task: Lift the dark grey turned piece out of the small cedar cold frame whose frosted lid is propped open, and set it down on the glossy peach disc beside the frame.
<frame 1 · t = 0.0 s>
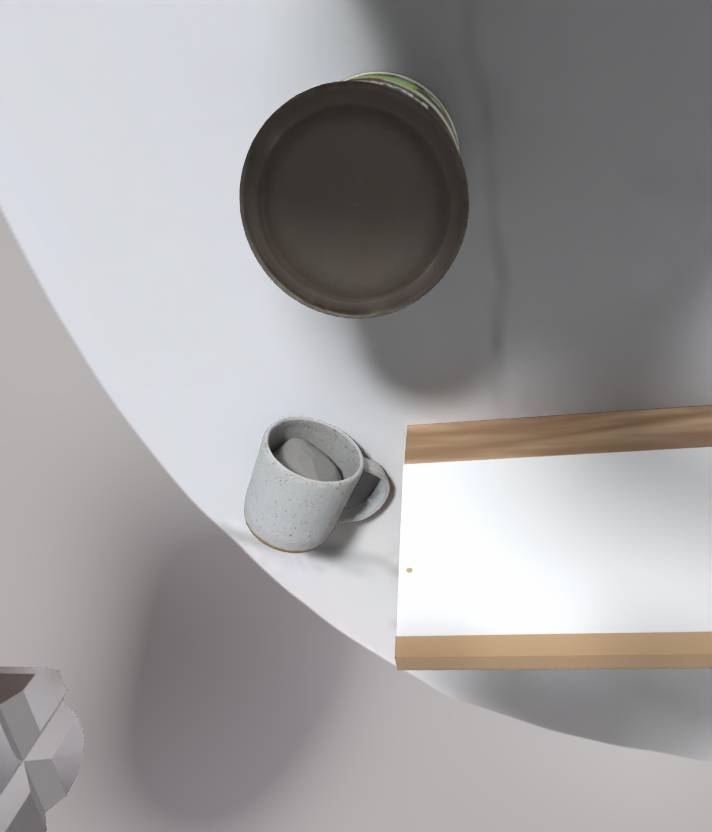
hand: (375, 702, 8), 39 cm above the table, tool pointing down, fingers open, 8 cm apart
propped lid: (588, 610, 41), point 13 cm above the table
cold frame: (556, 514, 53), on the table
coffee can: (377, 162, 42), on the table
ceramic mug: (325, 461, 53), on the table
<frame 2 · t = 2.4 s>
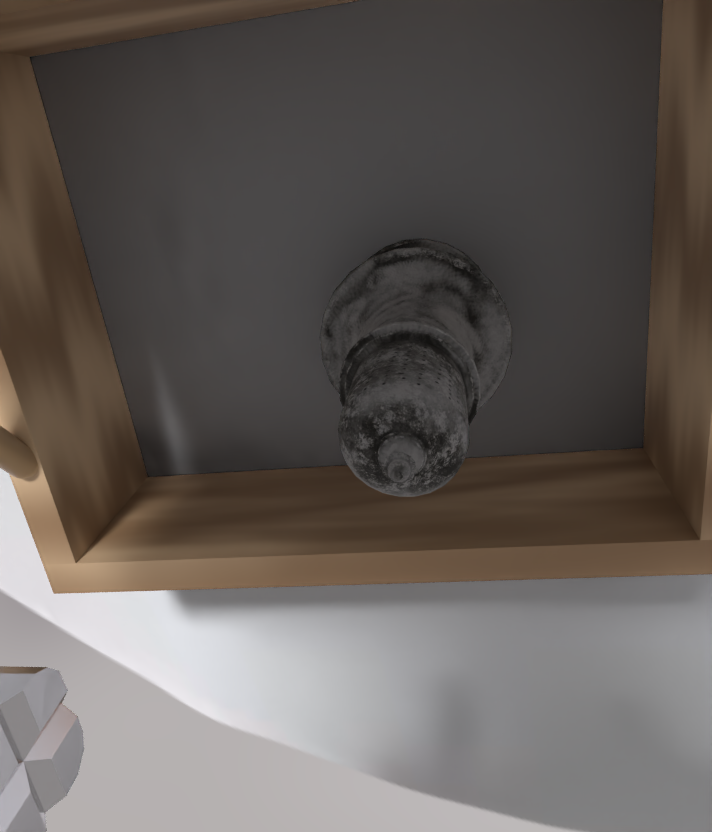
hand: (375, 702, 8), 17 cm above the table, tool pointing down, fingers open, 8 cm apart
propped lid: (240, 272, 11), point 13 cm above the table
dark grey turned piece: (418, 313, 24), resting in cold frame
cold frame: (355, 264, 23), on the table
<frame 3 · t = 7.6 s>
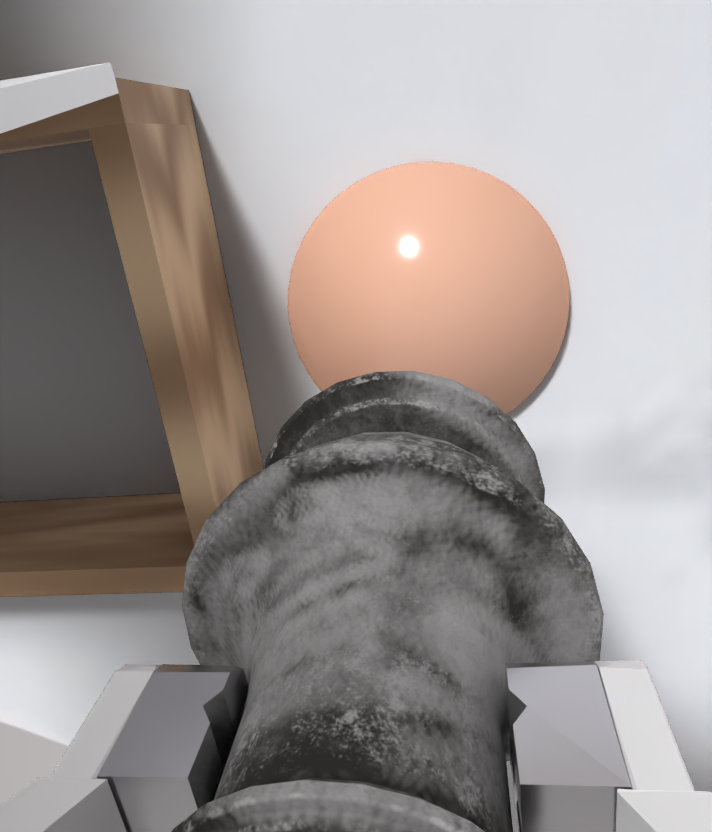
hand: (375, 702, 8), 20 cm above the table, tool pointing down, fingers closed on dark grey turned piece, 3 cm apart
glossy peach disc: (425, 307, 27), on the table
dark grey turned piece: (400, 497, 13), point 15 cm above the table, touching gripper
cold frame: (0, 347, 30), on the table
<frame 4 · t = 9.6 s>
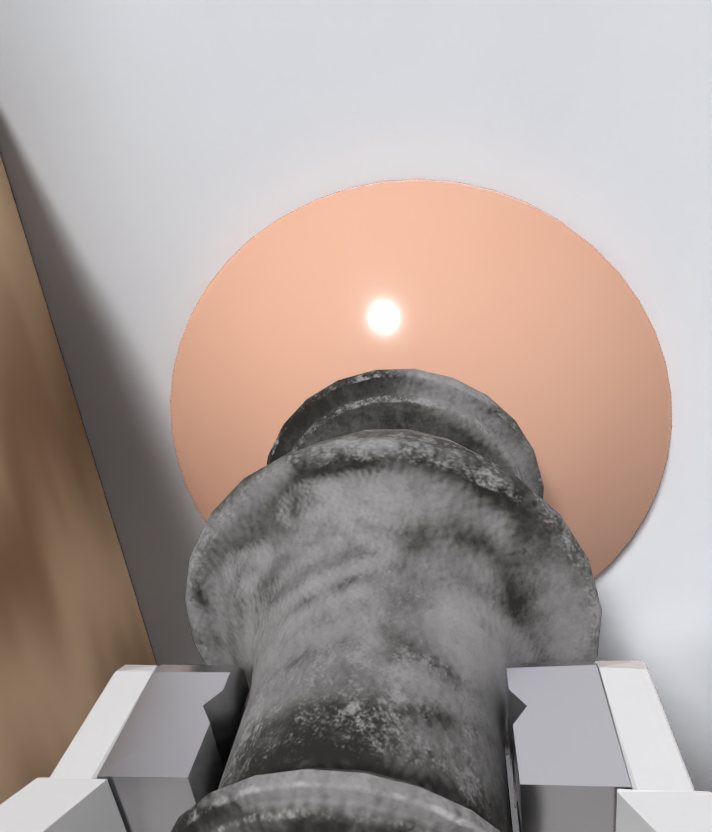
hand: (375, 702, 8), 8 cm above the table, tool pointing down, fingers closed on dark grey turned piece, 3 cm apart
glossy peach disc: (410, 431, 15), on the table
dark grey turned piece: (401, 494, 13), point 3 cm above the table, touching gripper
when the fingers open (6 cm above the table, at t = 10.7 s): dark grey turned piece moves 3 cm, resting on glossy peach disc.
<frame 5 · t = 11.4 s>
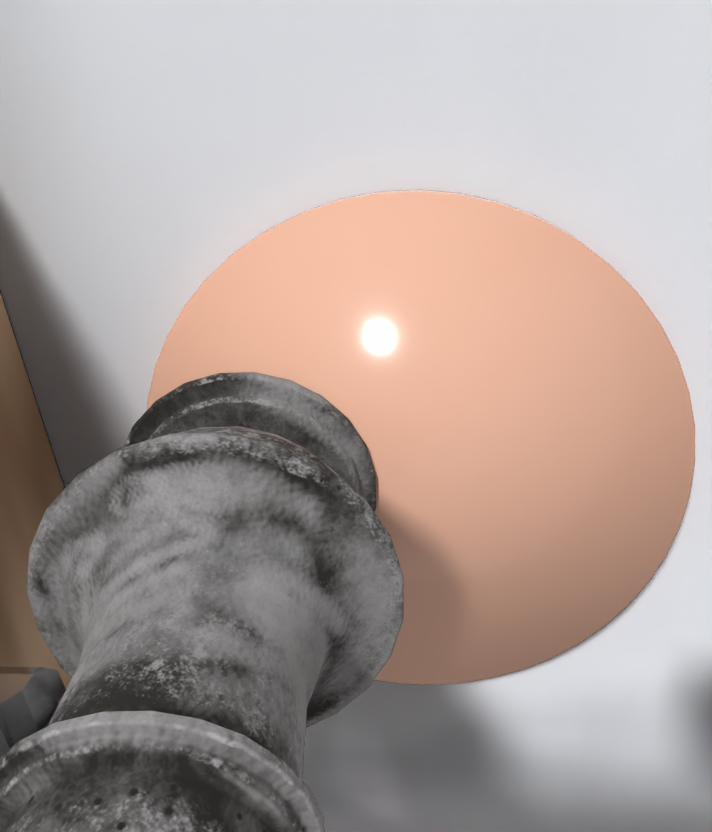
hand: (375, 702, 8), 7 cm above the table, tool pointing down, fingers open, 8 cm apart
glossy peach disc: (408, 463, 14), on the table
dark grey turned piece: (249, 488, 14), point 1 cm above the table, touching gripper, glossy peach disc
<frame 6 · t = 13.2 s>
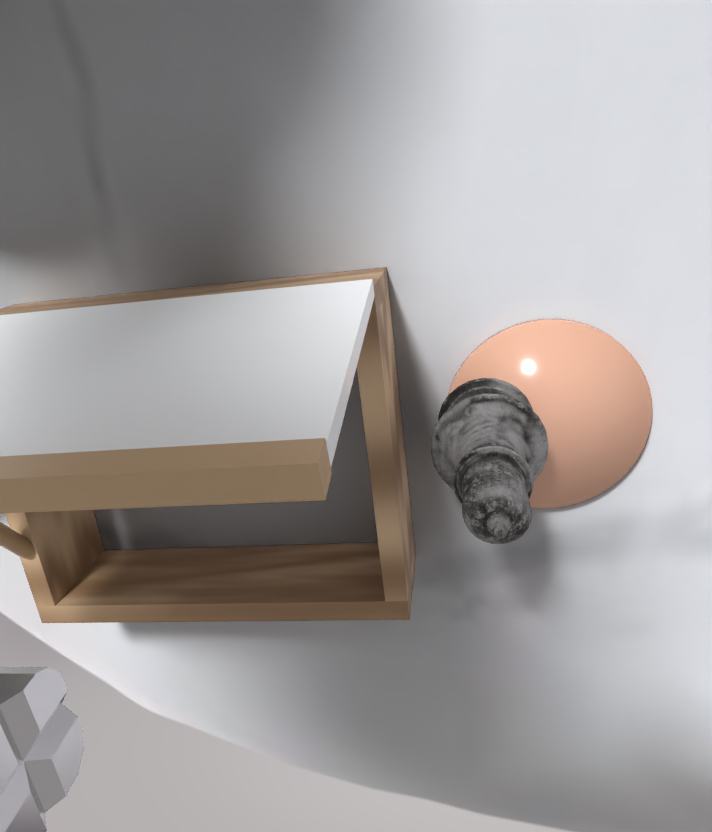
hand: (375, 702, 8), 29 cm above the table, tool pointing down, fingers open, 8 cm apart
glossy peach disc: (544, 415, 37), on the table
propped lid: (110, 501, 28), point 13 cm above the table
dark grey turned piece: (485, 421, 37), resting on glossy peach disc
cold frame: (221, 435, 40), on the table
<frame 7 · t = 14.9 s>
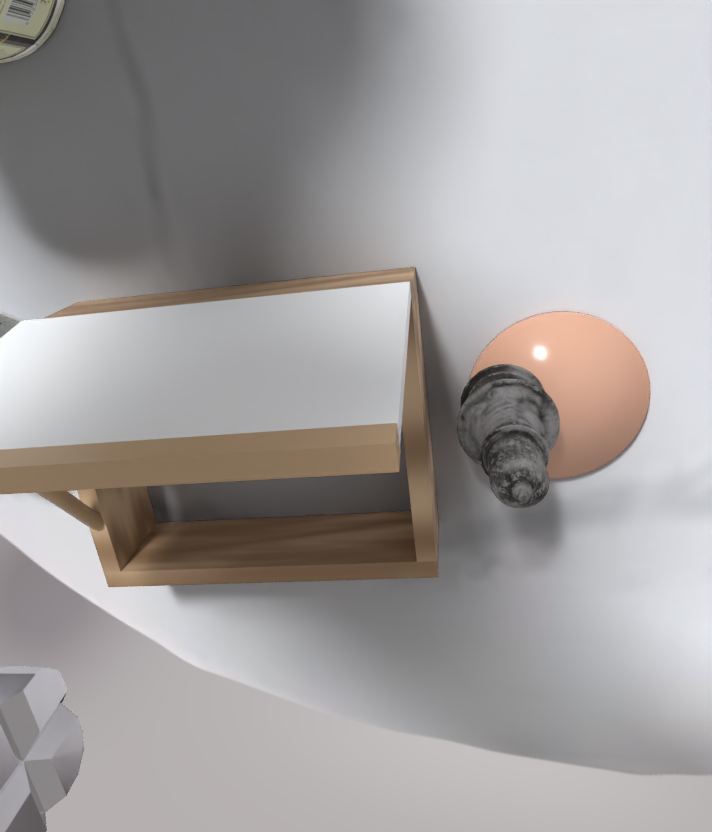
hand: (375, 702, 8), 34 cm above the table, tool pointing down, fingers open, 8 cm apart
glossy peach disc: (555, 396, 42), on the table
propped lid: (190, 477, 32), point 13 cm above the table
dark grey turned piece: (502, 402, 42), resting on glossy peach disc
cold frame: (264, 417, 45), on the table
ceramic mug: (30, 371, 46), on the table
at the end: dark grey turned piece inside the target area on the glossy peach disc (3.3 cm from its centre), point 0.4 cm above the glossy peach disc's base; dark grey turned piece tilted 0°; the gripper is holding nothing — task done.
